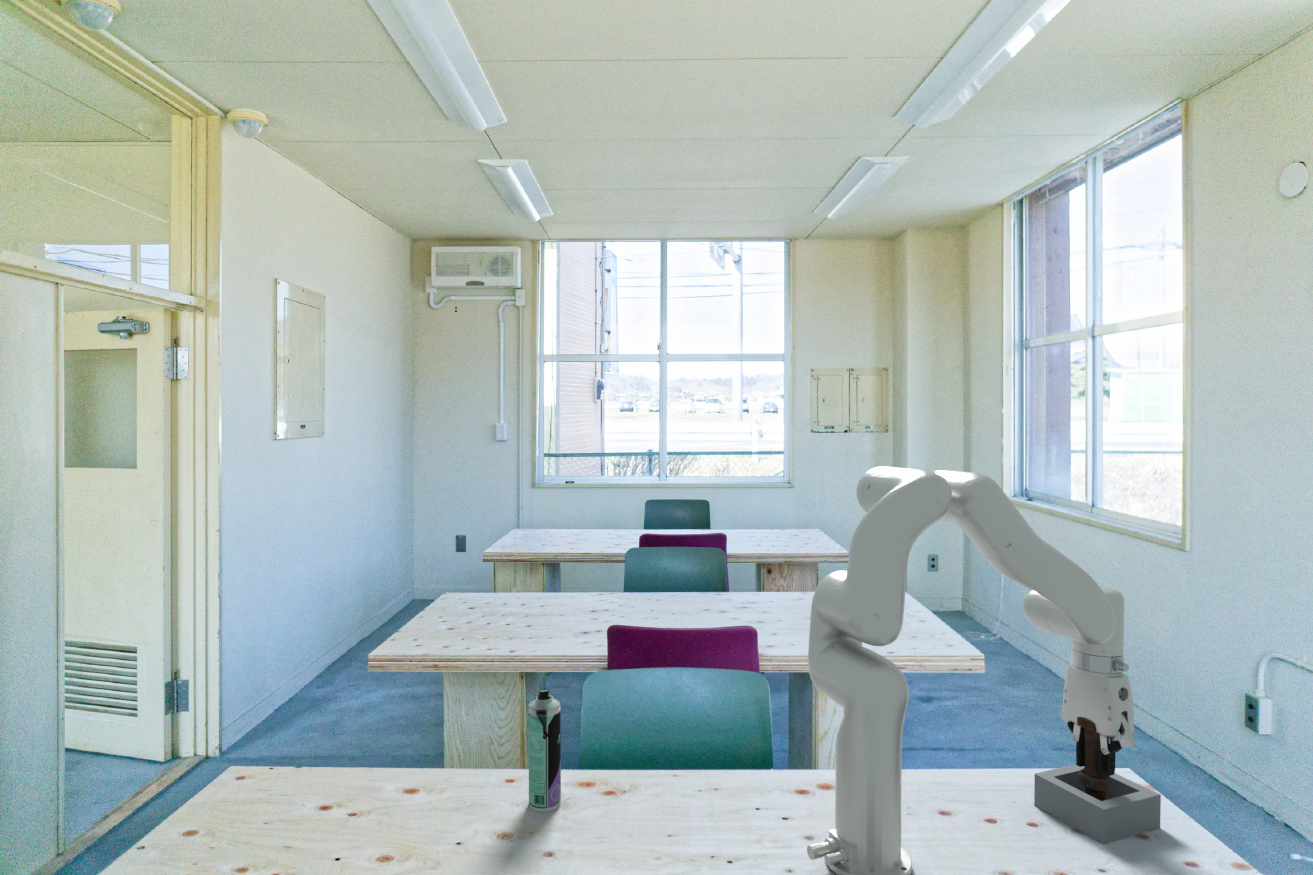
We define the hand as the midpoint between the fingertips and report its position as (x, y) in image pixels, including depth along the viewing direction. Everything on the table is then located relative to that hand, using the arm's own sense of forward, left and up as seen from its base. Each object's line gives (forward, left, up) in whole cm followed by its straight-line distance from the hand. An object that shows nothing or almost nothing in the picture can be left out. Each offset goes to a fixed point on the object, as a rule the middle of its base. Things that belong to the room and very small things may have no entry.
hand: (1095, 769), depth 127 cm
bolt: (0, 0, -6) cm, 6 cm away
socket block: (0, 0, -8) cm, 8 cm away
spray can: (-85, +38, -8) cm, 93 cm away
